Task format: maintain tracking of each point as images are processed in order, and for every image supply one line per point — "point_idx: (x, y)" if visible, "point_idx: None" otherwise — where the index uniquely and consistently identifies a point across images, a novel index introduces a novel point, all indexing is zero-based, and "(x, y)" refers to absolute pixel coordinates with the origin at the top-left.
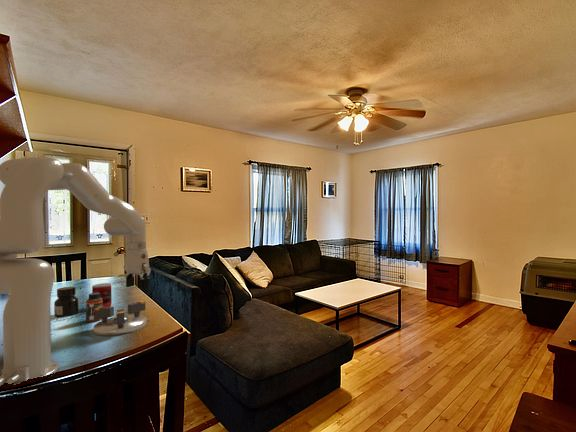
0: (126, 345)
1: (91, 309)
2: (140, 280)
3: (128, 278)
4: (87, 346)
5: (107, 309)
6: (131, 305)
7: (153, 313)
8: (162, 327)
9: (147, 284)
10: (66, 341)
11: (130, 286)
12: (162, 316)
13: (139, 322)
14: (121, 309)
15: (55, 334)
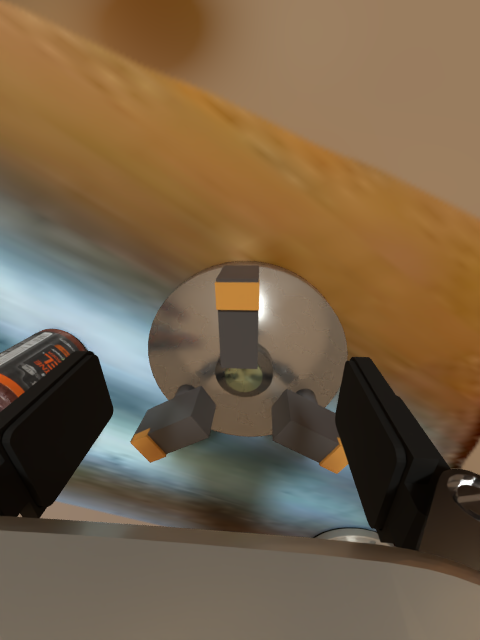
0: (424, 429)
1: None
2: (388, 532)
3: (50, 492)
4: (311, 465)
5: (199, 437)
6: (257, 367)
7: (188, 153)
8: (430, 280)
9: (406, 408)
10: (217, 467)
11: (103, 384)
12: (291, 164)
13: (330, 336)
14: (286, 429)
15: (127, 456)
